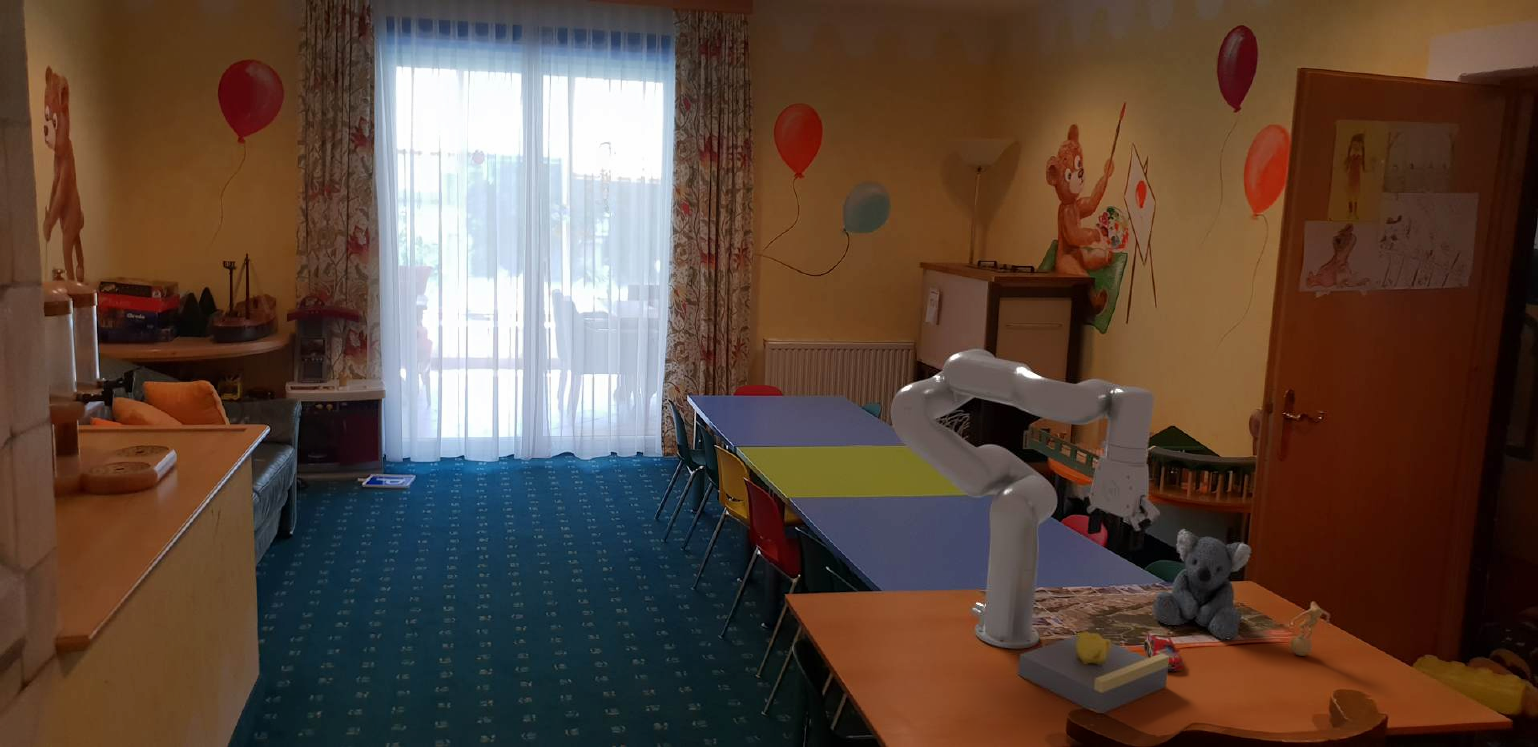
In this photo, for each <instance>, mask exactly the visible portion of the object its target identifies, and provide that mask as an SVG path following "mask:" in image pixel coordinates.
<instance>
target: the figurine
mask: <svg viewBox="0 0 1538 747" xmlns="http://www.w3.org/2000/svg"><path fill="white" fill-rule="evenodd" d="M1307 615H1308V619H1307V618H1306V619H1304V621H1303V622H1301V623H1300V624H1299V626H1300V629H1301V633H1302V634H1300V635H1296V636H1294V637H1293V638H1291V640H1290V644H1289V645H1290V649H1291V651H1292V653H1293V654H1295V655H1297V656H1300V657H1305V656H1308V655H1309V654H1310V653H1312V651H1313V644H1312V641H1311V640H1310V637H1311V636H1312V634H1313V632H1314V630H1313V629H1312V628H1314V627H1316V625H1318V623H1319V619H1320V617H1322V616H1323V615H1325V616H1326V619H1325V620H1324V622H1325V623H1324V624H1326V625H1328V624H1329V623H1330V617H1331V614H1330V613H1329V612H1327V611H1325V610H1324V609H1322V608H1320V606H1319V605H1318V604H1317V603H1316V602H1315V601H1312V602H1310V608H1309V609H1308V610H1305V611H1304V612H1302V613H1300V614H1299V615H1298V616H1296V617H1294V618H1293V619H1292V620H1291V622H1290V623H1289V625H1290V626H1291V625H1292V624H1293V622H1296V621H1297V620H1299V619H1300V618H1302V617H1303V616H1307ZM1305 627H1308V632H1309V633H1308V634H1307V635H1306V629H1305Z"/></svg>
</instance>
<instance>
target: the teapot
mask: <svg viewBox="0 0 1538 747" xmlns="http://www.w3.org/2000/svg"><path fill="white" fill-rule="evenodd" d="M1077 635H1078V637H1077V642H1076V653H1077V655H1078V658H1080V659H1081V660H1082V661H1083V662H1082V663H1083V664H1085V665H1087V664H1088V663H1096V664H1097V665H1102V664H1101V663H1105V661H1106V653H1107V652H1110V651H1111V643H1112V640H1111V639H1110V638H1109V639H1108V638H1103V637H1102V636H1101V634H1099V633H1097V632H1096V633H1095V632H1089V631H1085V630H1084V631H1083V632H1077Z"/></svg>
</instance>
